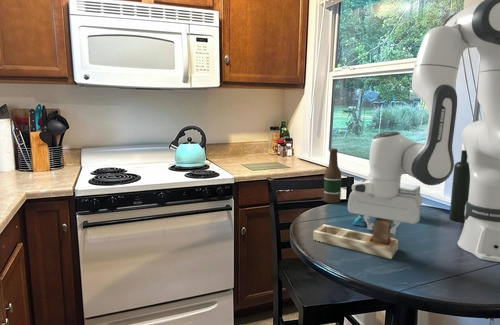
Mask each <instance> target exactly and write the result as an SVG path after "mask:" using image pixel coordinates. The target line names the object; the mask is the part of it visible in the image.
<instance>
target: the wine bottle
mask: <svg viewBox="0 0 500 325" xmlns="http://www.w3.org/2000/svg"><path fill="white" fill-rule="evenodd" d="M451 185H452V186H451V195H450V196H451V197H450V207H449V208H450V209H449V221H453V222H456V223H457V222H458V223H465V216H464V215H465V205H466V202H467V200H468V197H469V186H470V169H469V163H468V157H467V151H466V148H465V146H464V144H463V143H462V142H461V154H460V161H458V162H456V163H454V168H453V177H452V184H451Z"/></svg>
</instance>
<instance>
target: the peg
mask: <svg viewBox="0 0 500 325" xmlns="http://www.w3.org/2000/svg"><path fill="white" fill-rule="evenodd" d="M392 224H393V220H388V219H383V218H377V217H375V220H374V226H373V227H374V228H373V242H374V243H379V244H383V245H388V244H389V243H390V238H391V235H392V234H389V232H390V231H389V229H390V227H393V225H392Z"/></svg>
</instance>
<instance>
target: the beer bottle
mask: <svg viewBox="0 0 500 325" xmlns="http://www.w3.org/2000/svg"><path fill="white" fill-rule="evenodd" d="M338 152H339V150H338V148H329V161H328V167H327V168H326V170H325V172H324V176H323V178H324V180H323V202H324V203H327V204H340V202H341V196H342V193H341V192H342V172H341V171H342V170H340V168H339V165H338Z"/></svg>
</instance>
